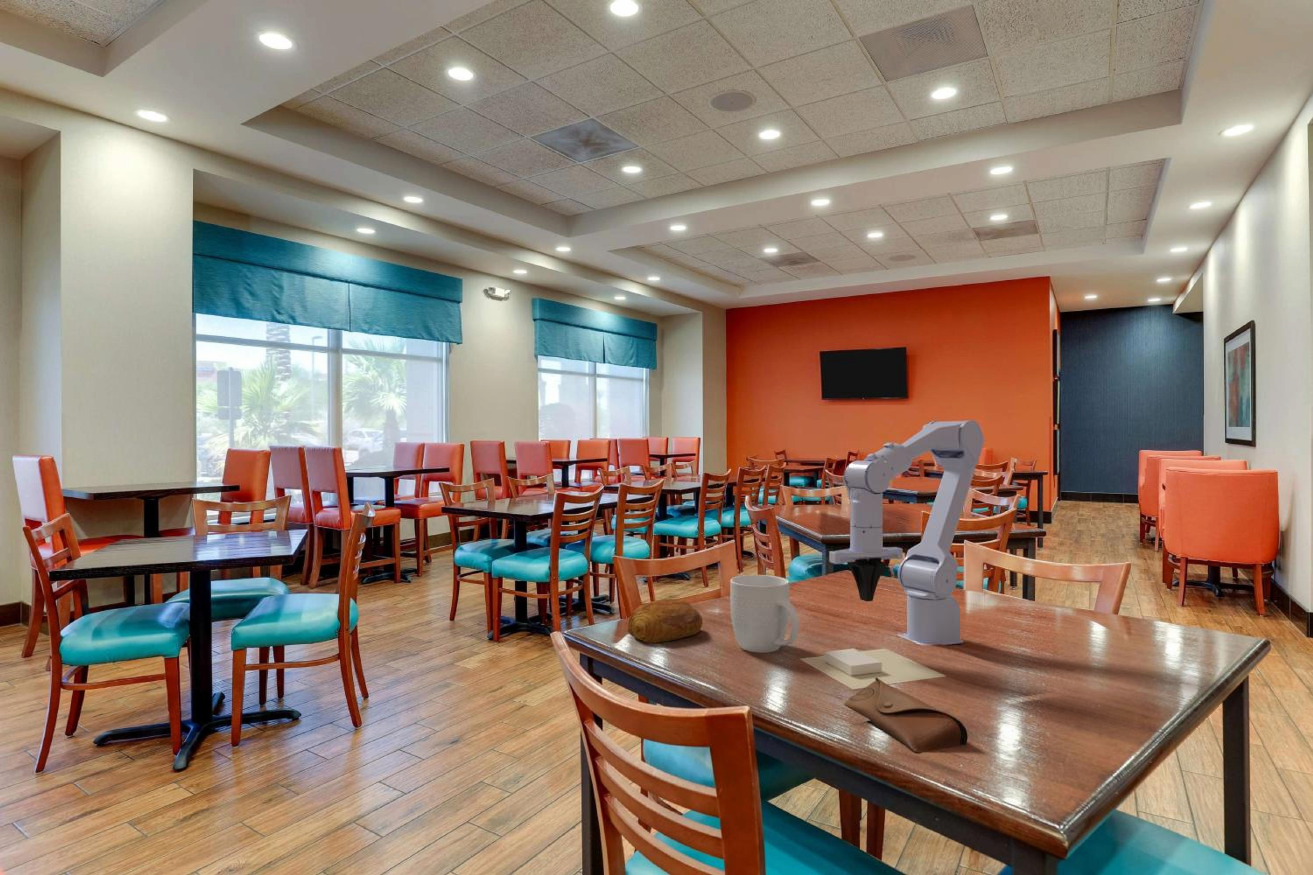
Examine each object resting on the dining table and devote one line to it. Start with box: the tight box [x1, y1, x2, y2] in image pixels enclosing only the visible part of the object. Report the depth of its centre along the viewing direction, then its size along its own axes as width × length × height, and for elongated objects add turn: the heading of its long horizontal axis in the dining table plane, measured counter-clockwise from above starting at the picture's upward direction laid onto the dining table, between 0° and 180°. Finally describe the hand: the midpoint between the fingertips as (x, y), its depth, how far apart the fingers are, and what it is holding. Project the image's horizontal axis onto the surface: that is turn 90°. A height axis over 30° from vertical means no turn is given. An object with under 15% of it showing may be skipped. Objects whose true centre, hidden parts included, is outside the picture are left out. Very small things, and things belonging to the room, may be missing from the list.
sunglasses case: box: [843, 678, 968, 754], centre depth 99 cm, size 18×7×7 cm
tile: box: [823, 648, 882, 676], centre depth 121 cm, size 2×8×6 cm
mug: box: [729, 574, 800, 654], centre depth 132 cm, size 15×11×13 cm
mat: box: [799, 648, 947, 690], centre depth 121 cm, size 18×16×1 cm
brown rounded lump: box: [627, 598, 703, 644], centre depth 145 cm, size 14×16×8 cm
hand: (866, 600), depth 130 cm, fingers closed
